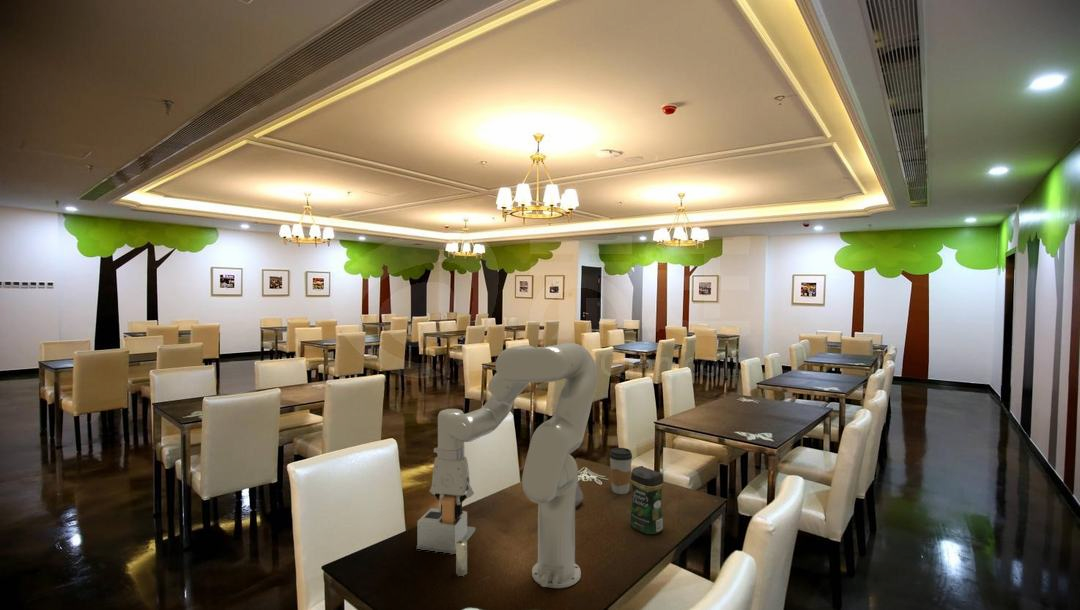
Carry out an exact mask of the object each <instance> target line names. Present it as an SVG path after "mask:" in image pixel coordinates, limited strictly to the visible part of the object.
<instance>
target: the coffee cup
mask: <svg viewBox="0 0 1080 610" xmlns="http://www.w3.org/2000/svg"><path fill="white" fill-rule="evenodd" d="M608 458H609V462H610V463H609V464H610V465H609V467H610V469H609V470H610V483H611V484H610V485H611V491H612V492H613V493H614V494H617V495H626V494H628V493H629V492H630V486H631V485H630V484H631V475H632V460H633V453H632V450H631V449H630V448H626V447H614V448H611V449H610V452H609V457H608Z"/></svg>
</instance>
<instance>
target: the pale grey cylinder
mask: <svg viewBox="0 0 1080 610" xmlns="http://www.w3.org/2000/svg"><path fill="white" fill-rule="evenodd" d="M455 560H456V561H455V569H456V570H455V573H456V574H457V575H458V576H457V575H456V574H455V575H456V576H457V577H459V576H463V577H465V576H464V575H466V574H467V575H468V541H467V542H466V541H458V542H457V543H456V555H455ZM467 575H466V576H467Z"/></svg>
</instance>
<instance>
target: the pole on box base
mask: <svg viewBox="0 0 1080 610" xmlns="http://www.w3.org/2000/svg"><path fill="white" fill-rule="evenodd" d="M438 507H439V508H434V507H430V509H429V510H428V511H426V512H425V513H424V514H423V515H422V516H421V517H420V518H419V519H418V520H417V522H416V523H417V525H416V526H417V532H416V533H417V537H416V538H417V543H416V544H417V545H416V550H417V549H421V550H429V551H435V552H434V553H437V552H444V553H443V554H445V553H450V554H449V555H453V554H456V543H457V542H458V541H466V542H467V543H468V541H469V539H470V538H471V537H472V536H473V534H474V533H475V531H476V527H475V526H470V525H469V526H468V511H464V510H462V514H461V516H460V517H459V518H458V519H457V520H456V521H455V523H454V524H453V523H445V522H442V513H441V504H440V502H439V501H438ZM421 550H420V551H421ZM429 551H428V552H429Z"/></svg>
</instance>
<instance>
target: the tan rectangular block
mask: <svg viewBox="0 0 1080 610" xmlns="http://www.w3.org/2000/svg"><path fill="white" fill-rule="evenodd" d="M440 504H441V505H442V522H445V523H453V524H454V523H455V521H456V520H457V519H458V518H459V517H460V516H461V515H460V516H459V517H458V518H457V519H455V505H456V496H455V495H445V496H444V497H443V498H442V499H440Z"/></svg>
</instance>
